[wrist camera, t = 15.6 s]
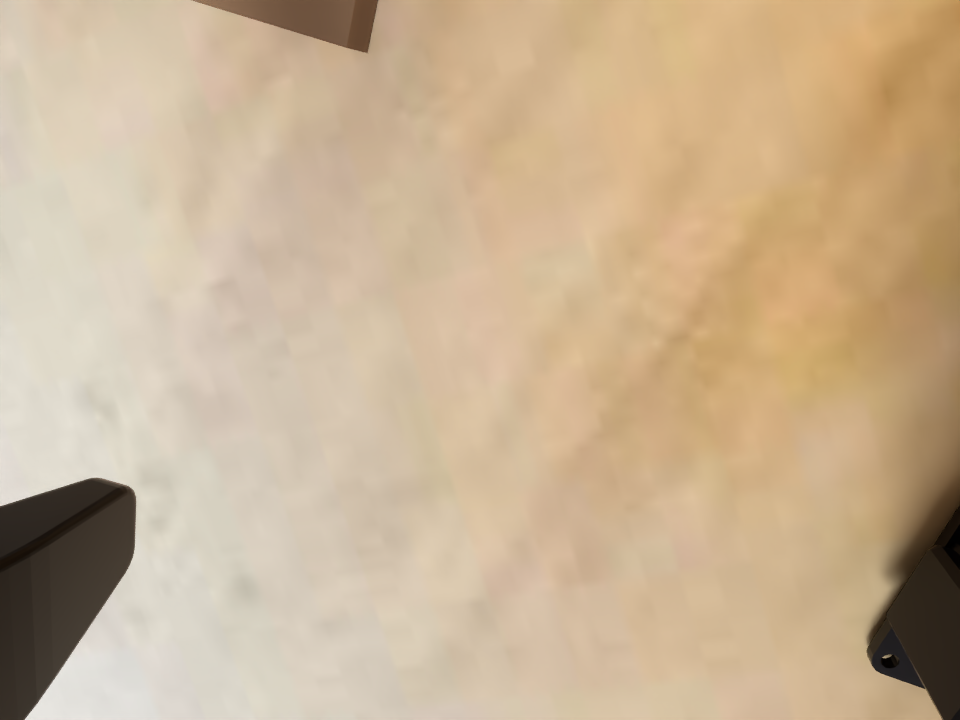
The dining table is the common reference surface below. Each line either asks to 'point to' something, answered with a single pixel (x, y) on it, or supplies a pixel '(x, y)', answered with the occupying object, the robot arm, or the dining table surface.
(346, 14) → the walnut base board
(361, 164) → the dining table surface
